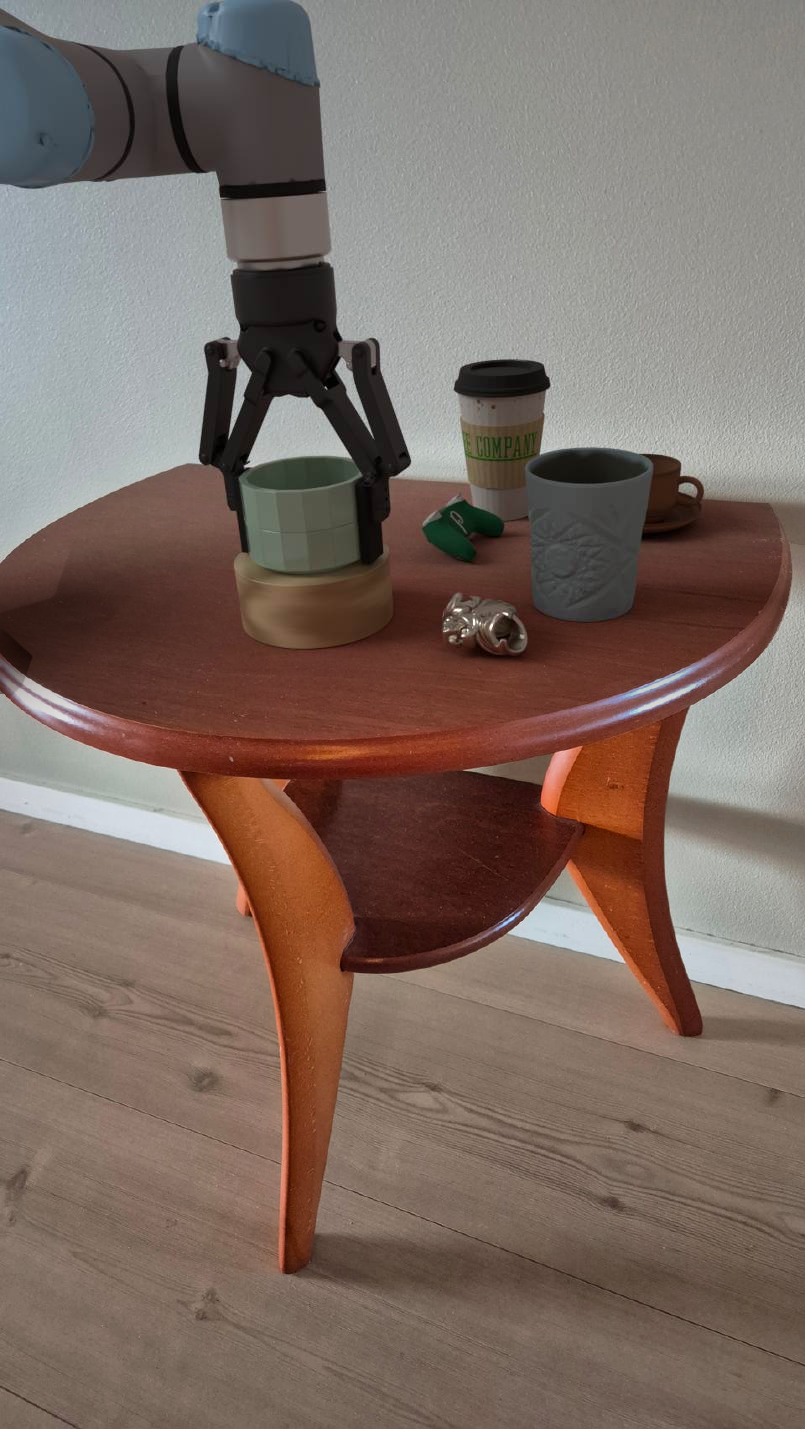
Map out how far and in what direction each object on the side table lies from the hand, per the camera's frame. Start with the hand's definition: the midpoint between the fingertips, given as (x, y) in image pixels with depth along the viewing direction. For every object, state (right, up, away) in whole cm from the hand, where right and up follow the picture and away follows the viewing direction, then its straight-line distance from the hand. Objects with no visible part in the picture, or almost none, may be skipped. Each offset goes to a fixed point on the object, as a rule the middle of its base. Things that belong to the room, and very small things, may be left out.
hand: (312, 553), depth 82 cm
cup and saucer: (+32, +6, +19) cm, 38 cm away
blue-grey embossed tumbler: (+23, -4, +2) cm, 24 cm away
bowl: (0, 0, 0) cm, 0 cm away
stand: (0, -5, +3) cm, 6 cm away
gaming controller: (+14, +3, +16) cm, 21 cm away
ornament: (+14, -8, -4) cm, 16 cm away
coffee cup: (+18, +8, +25) cm, 32 cm away
